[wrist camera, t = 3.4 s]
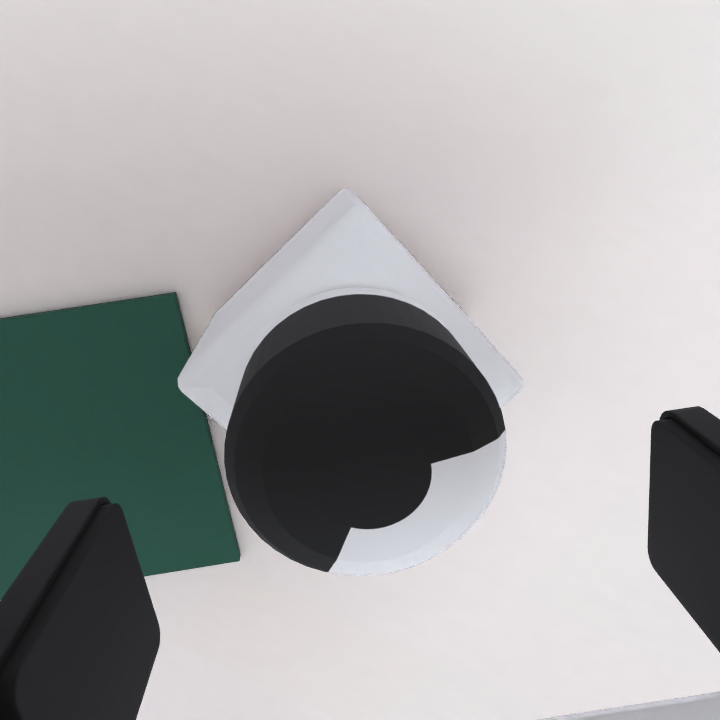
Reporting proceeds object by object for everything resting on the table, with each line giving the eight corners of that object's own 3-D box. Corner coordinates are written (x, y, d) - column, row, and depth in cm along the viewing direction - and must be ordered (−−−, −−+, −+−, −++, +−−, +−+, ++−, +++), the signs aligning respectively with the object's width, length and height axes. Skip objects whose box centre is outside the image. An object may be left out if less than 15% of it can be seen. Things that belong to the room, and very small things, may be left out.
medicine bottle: (210, 317, 23) (113, 479, 12) (345, 183, 22) (382, 222, 11) (339, 436, 25) (362, 670, 14) (470, 319, 24) (611, 474, 13)
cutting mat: (-79, 607, 26) (-85, 613, 26) (-203, 348, 22) (-211, 352, 22) (240, 555, 27) (239, 561, 26) (176, 291, 23) (173, 294, 22)
